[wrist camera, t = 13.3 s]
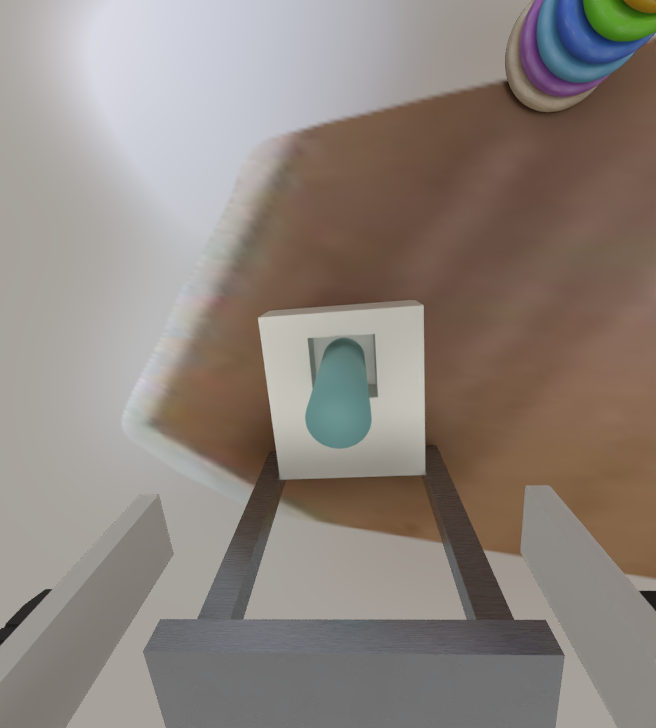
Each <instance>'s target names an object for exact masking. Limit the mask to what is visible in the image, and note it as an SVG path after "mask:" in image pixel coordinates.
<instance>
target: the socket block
mask: <svg viewBox="0 0 656 728" xmlns="http://www.w3.org/2000/svg"><path fill="white" fill-rule="evenodd" d="M258 322H259V329H260V336H261V344H262V351H263V358H264V366H265V373H266V380H267V388H268V395H269V402H270V410H271V417H272V424H273V432H274V439H275V446H276V454H277V461H278V468H279V475H280V480H287V479H317V478H347V477H377V476H407V475H425V390H424V305H422V304H421V303H419V302H418V301H416V300H403V301H389V302H376V303H363V304H350V305H336V306H323V307H310V308H297V309H283V310H270V311H268V312H266V313H265V314H263V315H261V316H260V317H258ZM339 338H349V339H352V340H354V341H356V342H357V343H358V344H359V345H360V346H361V347H362V349H363V351H364V356H365V365H366V373H367V382H368V390H369V399H370V407H371V416H372V422H371V427H370V430H369V432H368V434H367V435H366V436H365V438H364V439H363V440H362V441H360V442H359V443H358V444H356V445H354V446H351V447H348V448H342V449H336V448H330V447H327V446H324V445H322V444H321V443H319V442H318V441H316V440H315V439H314V438H313V437H312V435H311V434H310V433H309V431H308V429H307V426H306V421H305V413H306V409H307V406H308V402H309V399H310V396H311V393H312V390H313V387H314V383H315V380H316V377H317V374H318V371H319V367H320V364H321V361H322V358H323V355H324V351H325V349H326V347H327V346H328V345H329V344H330V343H331V342H332V341H334V340H336V339H339Z"/></svg>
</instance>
